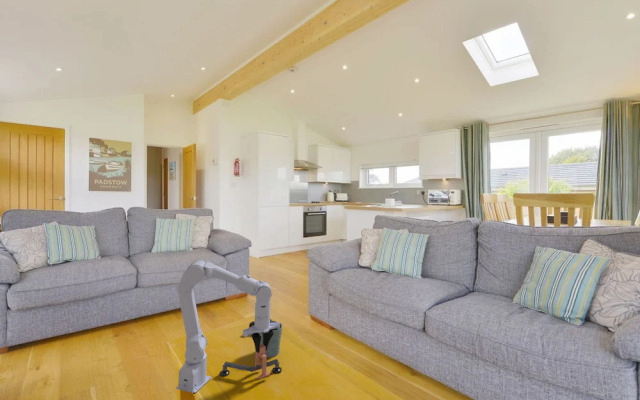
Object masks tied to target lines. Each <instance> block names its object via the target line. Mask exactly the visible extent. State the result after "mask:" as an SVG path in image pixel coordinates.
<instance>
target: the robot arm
mask: <svg viewBox="0 0 640 400" xmlns="http://www.w3.org/2000/svg"><path fill="white" fill-rule="evenodd" d="M251 276H252V275H250V274H243V275H242V274H241V275H237V274H236V273H234V272H232V271H229V270H227V269H225V268H223V267H221V266H218V265H216V264H214V263H212V262H211V261H206V260H203V259H199V258H198V259H196V260H194V261H193V262H192V263H191V264H189V265H188V267H187V268H186V270H185V271H184V272H183V274H182V276H181V279H180V280H179V282H178V285H177V288H176V289H177V296H178V299H179V306H180V310H181V316H182V320H183V326H184V329H185V335H186V337H185V352H184V353H185V354H184V358H185V360H184V361H185V362H184V364H183V365H182V367H180V368H179V370H178V385H177V386H176V387H175V388H176V389H175V390H179V391H184V392H188V393H193V394H196V393H198V392H199V390H200V389H201V388H202V387H204V386H205V385H206V384H207V383H208V381H210V380H211V379H212V376H210V375H207V366H208V364H207V362H208V361H207V358H208V354H207V352H206V347H207V345H208V339H207V337H206V336H205V335H204V332H203V330H202V328H201V324H200V320H199V315H198V313H199V312H198V309H197V304H196V299H195V293H194V288H195V286H197V284H199V283H201V281H203V279H204V278H205V280H206V281H208V280H211V279H218V280H220V281H223V282H226V283H230V284H232V285H235V287H236V289H237V291H240V292H242V293H245V294H247V295H250V296H253V297H255V298H256V300H255V302H254V303H255V305H254V321H255V325H254V326H252V327H250V328H249V327H248V328H245V329H242V336H243V337H245V338H247V337H248V336H251V339H252V341H253V344H254V350H256V352H257V353H259V352H260V341H261V336H260V334H259V333H260V332H263V344H264V345H265V346H266V349H265V350H267V348H268V344H269V342H270V339H271V337H272V336H273V331H272V329H276V328H277V329H279V328H280V323H281V322H280V323H279V321H277V322H273V323H270V319H271V297H272V295H273V293H272V289H271V285H270V283H268V282H266V281H264V280H261V279H259V280H258V279H255V278H253V277H251Z"/></svg>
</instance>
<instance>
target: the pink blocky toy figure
mask: <svg viewBox="0 0 640 400" xmlns="http://www.w3.org/2000/svg"><path fill="white" fill-rule="evenodd" d="M265 349H266V346H265V345H264V344H260V352H259V353H257V352H256V350H255V349H254V350H255V355H254V366H256V365H259V364H260V358H261V364H262V369H261V374H259V375H257V378H258V379H262V378H265V377H267V376H270V375H271V373H270V372H269V371H268V372H267V367H266V363H267V362H268V361H267V359H268V357H267V356H266V355H265V354H264V353H265V352H266V350H265Z"/></svg>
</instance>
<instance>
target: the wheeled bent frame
mask: <svg viewBox="0 0 640 400" xmlns="http://www.w3.org/2000/svg"><path fill="white" fill-rule="evenodd" d="M271 366H274V367H272V369H271V370H272V373H273V374H280V373H281V372H282V367H280V361H279V359H277V358H275V359H272V360H268V361H267V363H266V368H268V367H271ZM228 368H231V369H236V370H241V371H246V372H250V373H253V372H256V371H259V370H262V363H259V365H256V366H255V365H254V366H253V365H252V366H251V365H246V364H241V363H240V364H239V363H235V362H230V361H225V362H224V363H223V365H222V370H220V371H219V376H220V377H228V376H230V370H229V369H228Z"/></svg>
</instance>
